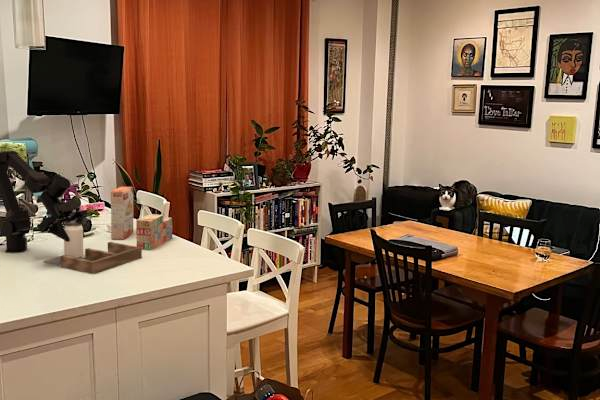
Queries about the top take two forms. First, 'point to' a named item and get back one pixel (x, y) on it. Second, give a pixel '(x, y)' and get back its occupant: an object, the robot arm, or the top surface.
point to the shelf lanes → (102, 258)
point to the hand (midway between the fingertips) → (76, 239)
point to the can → (74, 240)
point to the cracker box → (121, 212)
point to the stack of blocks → (153, 231)
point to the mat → (56, 261)
